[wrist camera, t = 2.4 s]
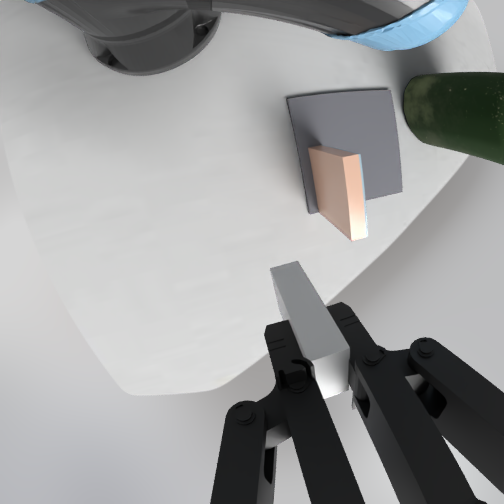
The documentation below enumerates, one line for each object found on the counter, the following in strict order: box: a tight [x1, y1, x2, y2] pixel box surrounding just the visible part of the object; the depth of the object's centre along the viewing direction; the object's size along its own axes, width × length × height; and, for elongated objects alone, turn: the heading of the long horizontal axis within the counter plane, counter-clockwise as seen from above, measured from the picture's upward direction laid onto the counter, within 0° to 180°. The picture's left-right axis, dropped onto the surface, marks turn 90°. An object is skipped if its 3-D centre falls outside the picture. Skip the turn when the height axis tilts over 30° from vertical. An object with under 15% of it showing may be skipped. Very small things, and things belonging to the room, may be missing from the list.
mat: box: [287, 90, 402, 214], centre depth 31 cm, size 14×14×1 cm
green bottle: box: [404, 72, 504, 165], centre depth 18 cm, size 10×10×25 cm
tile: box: [308, 145, 368, 241], centre depth 28 cm, size 8×2×9 cm, turn 13°
